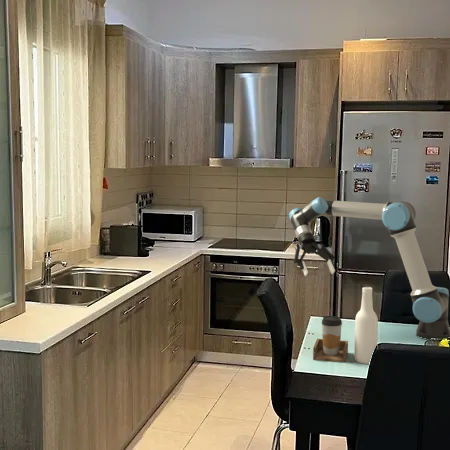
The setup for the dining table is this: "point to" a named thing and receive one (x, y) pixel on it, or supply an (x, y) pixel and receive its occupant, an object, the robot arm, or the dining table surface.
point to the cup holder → (320, 355)
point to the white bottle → (365, 328)
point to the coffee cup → (331, 335)
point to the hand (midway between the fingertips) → (320, 273)
